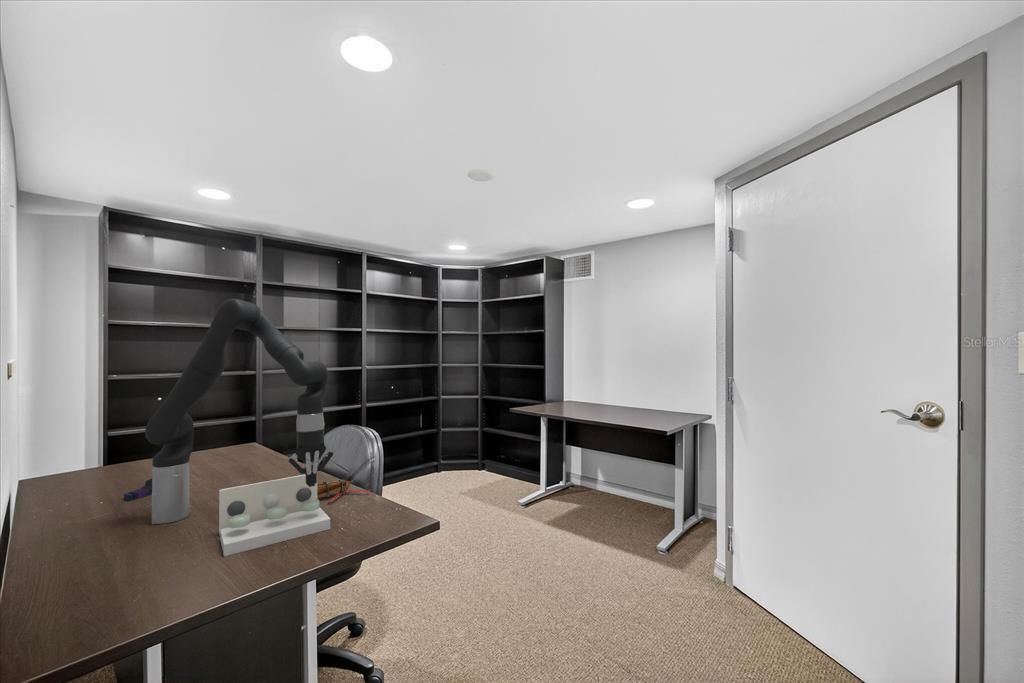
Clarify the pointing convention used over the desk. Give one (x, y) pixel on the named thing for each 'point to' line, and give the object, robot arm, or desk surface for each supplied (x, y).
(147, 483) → the handgun
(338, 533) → the desk surface
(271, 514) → the button middle
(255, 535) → the button panel
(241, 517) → the button left
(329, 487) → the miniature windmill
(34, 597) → the desk surface
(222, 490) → the pattern card
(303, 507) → the button right
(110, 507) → the desk surface
